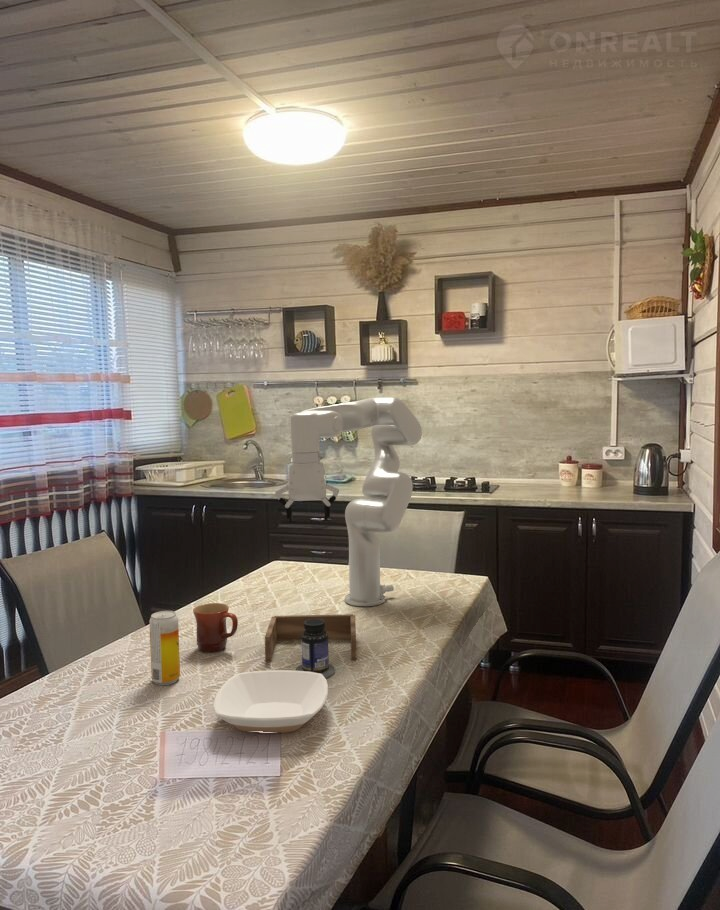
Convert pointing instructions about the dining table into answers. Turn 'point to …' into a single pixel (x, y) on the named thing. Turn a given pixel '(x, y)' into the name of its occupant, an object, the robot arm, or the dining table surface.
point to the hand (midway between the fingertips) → (308, 520)
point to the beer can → (164, 647)
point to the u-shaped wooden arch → (295, 627)
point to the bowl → (271, 700)
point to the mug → (213, 626)
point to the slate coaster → (326, 674)
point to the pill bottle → (315, 646)
